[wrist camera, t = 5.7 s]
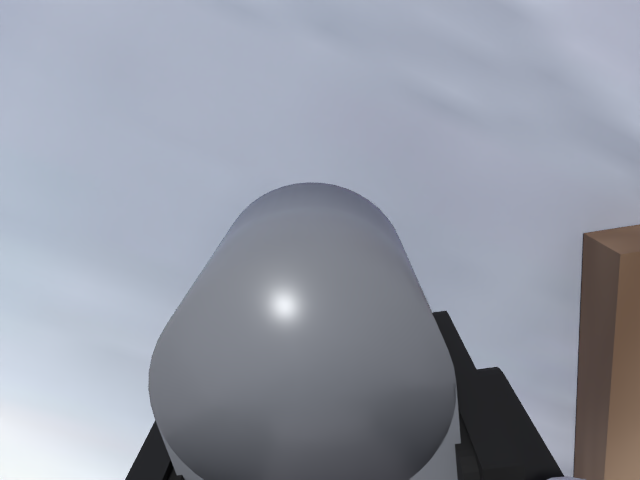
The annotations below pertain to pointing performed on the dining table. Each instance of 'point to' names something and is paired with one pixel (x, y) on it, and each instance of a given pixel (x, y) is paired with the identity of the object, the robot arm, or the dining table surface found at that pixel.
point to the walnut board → (609, 357)
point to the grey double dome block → (306, 352)
